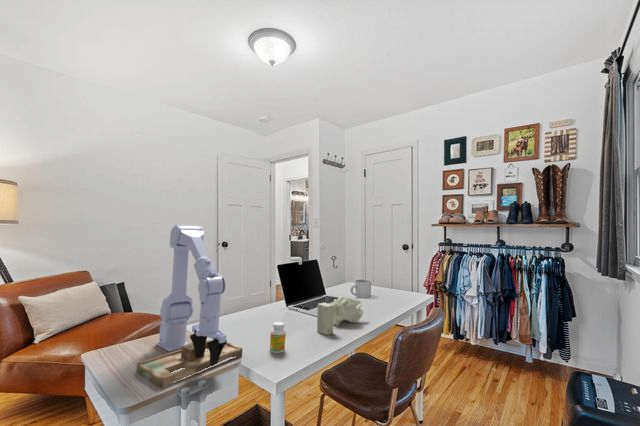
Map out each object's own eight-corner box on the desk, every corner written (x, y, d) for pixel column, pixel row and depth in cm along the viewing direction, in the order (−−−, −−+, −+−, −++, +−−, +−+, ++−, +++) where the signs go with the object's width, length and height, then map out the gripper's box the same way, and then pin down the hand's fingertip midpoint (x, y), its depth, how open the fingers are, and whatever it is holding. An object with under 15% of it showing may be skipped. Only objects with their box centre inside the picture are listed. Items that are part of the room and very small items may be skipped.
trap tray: (136, 372, 90) (137, 363, 90) (216, 345, 113) (217, 337, 113) (160, 388, 82) (161, 378, 82) (242, 355, 105) (242, 348, 105)
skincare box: (333, 333, 132) (334, 305, 133) (326, 335, 129) (327, 306, 129) (322, 329, 136) (324, 302, 137) (315, 331, 133) (317, 303, 134)
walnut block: (180, 357, 97) (181, 346, 97) (195, 352, 101) (195, 341, 101) (189, 361, 94) (190, 350, 94) (204, 356, 98) (204, 345, 98)
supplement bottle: (270, 354, 107) (272, 326, 108) (268, 348, 113) (270, 321, 113) (285, 353, 109) (287, 325, 109) (283, 347, 114) (284, 320, 115)
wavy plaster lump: (345, 332, 153) (350, 302, 161) (364, 333, 144) (368, 300, 152) (318, 322, 144) (325, 290, 152) (337, 322, 135) (343, 288, 143)
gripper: (184, 313, 95) (181, 357, 94) (213, 323, 86) (209, 372, 86) (204, 309, 100) (201, 350, 100) (233, 318, 92) (230, 364, 92)
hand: (206, 360), depth 93 cm, fingers open, 7 cm apart
